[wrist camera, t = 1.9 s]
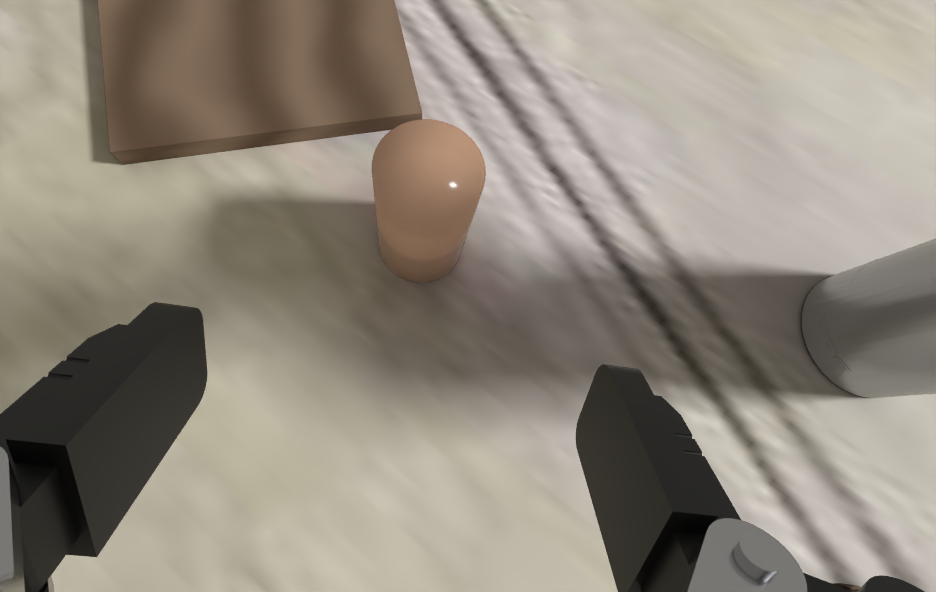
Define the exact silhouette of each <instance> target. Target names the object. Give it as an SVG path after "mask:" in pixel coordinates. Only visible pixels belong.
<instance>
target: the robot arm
mask: <svg viewBox="0 0 936 592" xmlns="http://www.w3.org/2000/svg"><path fill="white" fill-rule="evenodd" d="M802 330H803V336H804V339H805V342H806V346H807V348H808V350H809V352H810V354H811V356H812V358H813V360H814V362H815V363H816V364H817V366H818V367H819V368H820V370H821V371H822V372H823V373H824V374H825V375H826V376H827V377H828V378H829V379H830V380H831V381H832V382H833V383H835V384H836V385H838V386H839V387H841V388H842V389H843V390H845V391H848V392H850V393H852V394H855V395H857V396H862V397H867V398H880V397H894V396H907V395H921V394H936V239H933V240H930V241H928V242H925V243H922V244H919V245H917V246H914V247H911V248H908V249H906V250H903V251H900V252H897V253H894V254H892V255H889V256H886V257H883V258H881V259H877V260H874V261H872V262H869V263H866V264H864V265H861V266H858V267H855V268H853V269H850V270H847V271H844V272H842V273H839V274H836V275H833V276H831V277H828V278H826V279H824V280H822V281H820V282H819V283H818V284H817V285H816V286H815V287H814V288H813V289H812V290H811V291H810V293H809V295H808V296H807V298H806V300H805V303H804V307H803V311H802ZM206 382H207V362H206V351H205V339H204V327H203V317H202V314H201V311H200V310H199V309H198V308H194V307H187V306H179V305H172V304H165V303H157V302H155V303H152V304H150V305H149V306H148V307H147V308H146V309H145V310H144V311H142V312H141V313H140V314H139V315H138V316H137V317H136V318H135V319H134V320H133V321H132V322H131V323H130V324H128V325H121V324H118V325H115V326H113V327H111V328H109V329H107V330H105V331H103V332H101V333H98V334H96V335H94V336H92V337H90V338H88V339H87V340H86V341H85V342H83V343H82V344H81V345H80V346H79V347H78V348H76V349H75V350H74V351H73V352H72V353H71V354H70V355H68V356H67V359H66V361H61V362H60V363H59V364H58V365H57V366H56V367H55V368H53V369H52V370H51V371H50V372H49V374H48V377H43V378H42V379H41V380H39V381H38V382H37V383H36V384H35V385H34V386H33V387H31V388H30V389H29V390H28V391H27V392H26V393H24V394H23V395H22V396H21V397H20V398H19V399H18V400H16V401H15V402H14V403H13V404H12V405H11V406H9V407H8V408H7V409H6V410H5V411H4V412H3V413H1V414H0V592H54V585H53V581H52V577H51V575H52V573H53V572H54V570H55V569H56V568H57V566H58V565H59V564H60V562H61V561H62V559H63V558H64V557H65V555H78V556H90V557H97V556H98V555H99V553H100V552H101V550H102V549H103V547H104V546H105V544H106V543H107V541H108V540H109V538H110V537H111V535H112V534H113V532H114V531H115V529H116V528H117V526H118V525H119V523H120V522H121V520H122V519H123V517H124V516H125V514H126V513H127V511H128V510H129V508H130V507H131V505H132V504H133V502H134V501H135V499H136V498H137V496H138V495H139V493H140V492H141V490H142V489H143V487H144V486H145V484H146V483H147V481H148V480H149V478H150V477H151V475H152V474H153V472H154V471H155V469H156V468H157V466H158V465H159V463H160V462H161V460H162V459H163V457H164V456H165V454H166V453H167V451H168V450H169V448H170V447H171V445H172V444H173V442H174V441H175V439H176V438H177V436H178V435H179V433H180V432H181V430H182V429H183V427H184V426H185V424H186V423H187V421H188V420H189V418H190V417H191V415H192V414H193V412H194V411H195V409H196V408H197V406H198V405H199V403H200V401H201V399H202V397H203V394H204V391H205V387H206ZM576 446H577V451H578V454H579V458H580V461H581V465H582V468H583V472H584V475H585V479H586V482H587V486H588V489H589V493H590V496H591V499H592V503H593V506H594V510H595V513H596V517H597V520H598V524H599V527H600V531H601V534H602V538H603V541H604V545H605V548H606V552H607V555H608V558H609V562H610V565H611V569H612V572H613V576H614V579H615V583H616V586H617V590H618V592H852V591H849V590H846V589H844V588H841V587H839V586H836V585H833V584H831V583H828V582H826V581H823V580H820V579H818V578H815V577H813V576H810V575H807V574H805V573H803V572H802V569H801V568H800V566H799V564H798V563H797V561H796V560H795V559H794V557H793V556H792V555H791V553H790V552H789V551H788V550H787V549H786V548H785V547H784V546H783V545H782V544H781V543H780V542H779V541H777V540H776V539H775V538H774V537H772V536H771V535H770V534H768V533H767V532H765V531H764V530H762V529H760V528H758V527H756V526H755V525H753V524H750V523H748V522H745V521H742V520H741V519H740V517H739V515H738V514H737V512H736V510H735V508H734V507H733V505H732V503H731V501H730V500H729V498H728V496H727V495H726V493H725V491H724V489H723V488H722V486H721V484H720V482H719V481H718V479H717V477H716V475H715V474H714V472H713V470H712V469H711V467H710V465H709V463H708V462H707V460H706V458H705V457H704V456H702V451H701V449H700V448H699V446H698V444H697V442H696V441H695V439H692V434H691V432H690V430H689V429H688V427H687V425H686V423H685V422H684V420H683V418H682V416H681V415H680V414H679V413H678V412H677V411H676V410H675V409H674V408H673V407H672V406H671V405H670V404H669V403H668V402H667V401H666V400H664V399H663V398H662V397H661V396H655V395H654V394H653V393H652V391H651V389H650V387H649V385H648V383H647V381H646V380H645V378H644V376H643V374H642V372H641V371H640V370H638V369H634V368H626V367H619V366H612V365H604V364H603V365H601V366H600V367H599V368H598V370H597V371H596V374H595V376H594V379H593V382H592V384H591V387H590V390H589V392H588V395H587V397H586V400H585V403H584V405H583V408H582V411H581V413H580V416H579V419H578V422H577V428H576ZM858 592H924V591H922V590H921V589H919V588H917V587H915V586H914V585H911V584H909V583H907V582H905V581H903V580H900V579H897V578H893V577H889V576H874V577H872V578H870V579H869V580H868V581H867V582H866V583H865V584H864V585H863V586H862V588H861V589H860V590H859V591H858Z"/></svg>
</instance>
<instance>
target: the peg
mask: <svg viewBox="0 0 936 592" xmlns="http://www.w3.org/2000/svg"><path fill="white" fill-rule="evenodd" d="M485 176H486V171H485V163H484V159H483V157H482V154H481V152H480V150H479V148H478V147H477V145H476V144H475V142H474V141H473V140H472V139H471V138H470V137H469V136H468V135H467V134H466V133H464V132H463V131H462V130H460V129H459V128H457V127H455V126H453V125H451V124H448V123H445V122H442V121H437V120H428V119H423V120H414V121H410V122H406V123H403V124H401V125H399V126H397V127H395V128H394V129H392V130H391V131H390V132H388V133H387V134H386V135H385V136H384V137H383V138H382V140H381V141H380V143H379V144H378V146H377V148H376V150H375V152H374V156H373V160H372V177H373V187H374V197H375V208H376V218H377V228H378V239H379V248H380V253H381V256H382V258H383V261H384V262H385V264H386V265H387V266H388V268H389V269H390V270H391V271H392V272H393V273H395V274H396V275H397V276H399V277H401V278H403V279H405V280H408V281H412V282H431V281H434V280H437V279H440V278H441V277H443V276H445V275H446V274H447V273H449V272H450V271H451V270H452V269H453V267H454V266H455V265H456V263H457V261H458V259H459V256H460V253H461V251H462V248H463V245H464V242H465V239H466V236H467V233H468V230H469V228H470V225H471V222H472V219H473V216H474V213H475V210H476V207H477V204H478V202H479V199H480V196H481V193H482V190H483V187H484V183H485Z"/></svg>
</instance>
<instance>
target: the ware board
mask: <svg viewBox="0 0 936 592" xmlns="http://www.w3.org/2000/svg"><path fill="white" fill-rule="evenodd" d="M98 11H99V24H100V36H101V49H102V61H103V74H104V86H105V98H106V111H107V123H108V136H109V148H110V153H111V154H112V155H113V156H114V157H115V158H116V159H117V160H118V161H119V162H120V163H121V164H122V165H123V164H131V163H138V162H146V161H154V160H161V159H169V158H177V157H184V156H192V155H199V154H207V153H215V152H222V151H230V150H238V149H245V148H253V147H260V146H268V145H276V144H283V143H291V142H299V141H306V140H314V139H321V138H329V137H337V136H344V135H352V134H360V133H367V132H375V131H382V130H390V129H394V128H395V127H397V126H399V125H401V124H403V123H406V122H410V121H414V120H422V110H421V106H420V102H419V98H418V94H417V90H416V86H415V82H414V78H413V74H412V70H411V66H410V62H409V58H408V54H407V50H406V46H405V42H404V38H403V34H402V30H401V26H400V22H399V18H398V14H397V10H396V6H395V2H394V0H98Z"/></svg>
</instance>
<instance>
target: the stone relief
mask: <svg viewBox="0 0 936 592" xmlns="http://www.w3.org/2000/svg"><path fill="white" fill-rule="evenodd" d="M834 585H836V586H839V587H841V588H844V589H846V590H849V591H852V592H858V591H859V590H860V589H861V587H859V586H855V585H848V584H842V583H841V584H834Z"/></svg>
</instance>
